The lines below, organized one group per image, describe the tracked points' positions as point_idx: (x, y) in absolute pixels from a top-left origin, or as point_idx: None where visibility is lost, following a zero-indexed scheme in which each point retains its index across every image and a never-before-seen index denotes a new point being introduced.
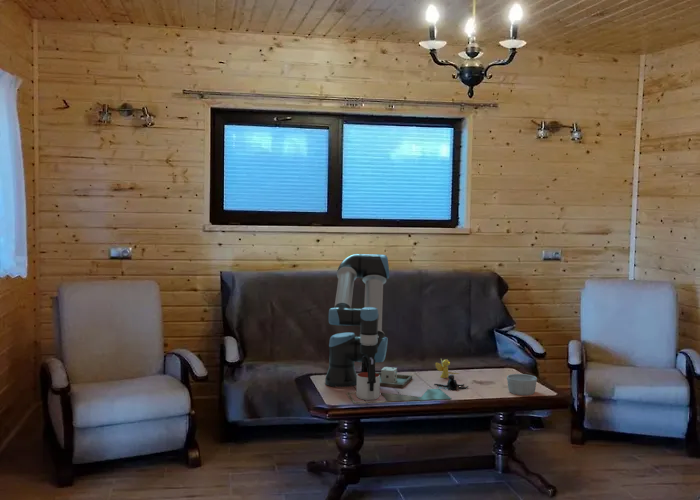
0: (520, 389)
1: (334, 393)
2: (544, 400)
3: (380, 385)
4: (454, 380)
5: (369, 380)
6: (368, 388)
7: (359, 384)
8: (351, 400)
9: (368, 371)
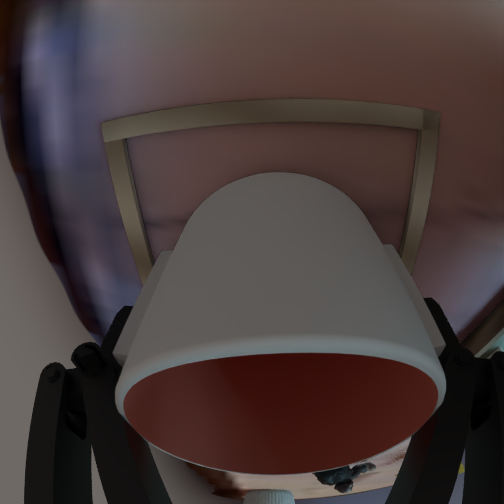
0: (246, 500)
1: (447, 21)
2: (216, 492)
3: (465, 347)
4: (329, 484)
5: (62, 385)
6: (133, 313)
7: (192, 259)
8: (187, 106)
9: (106, 491)
